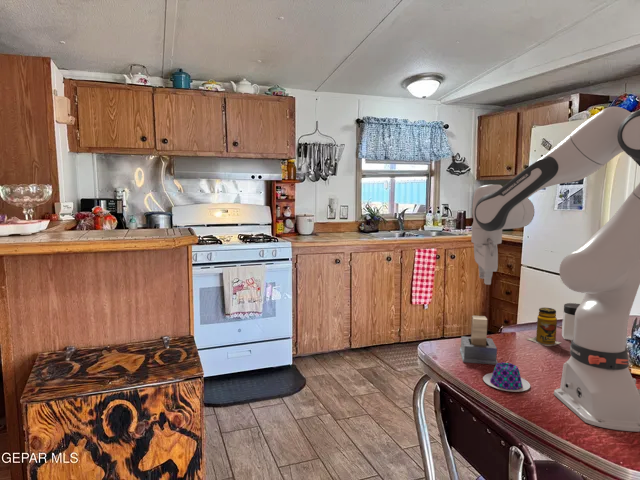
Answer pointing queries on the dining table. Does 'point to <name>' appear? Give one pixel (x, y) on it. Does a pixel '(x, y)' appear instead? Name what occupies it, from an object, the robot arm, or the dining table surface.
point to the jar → (569, 320)
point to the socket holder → (478, 351)
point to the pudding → (506, 378)
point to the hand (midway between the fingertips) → (484, 281)
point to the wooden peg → (479, 330)
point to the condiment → (546, 327)
